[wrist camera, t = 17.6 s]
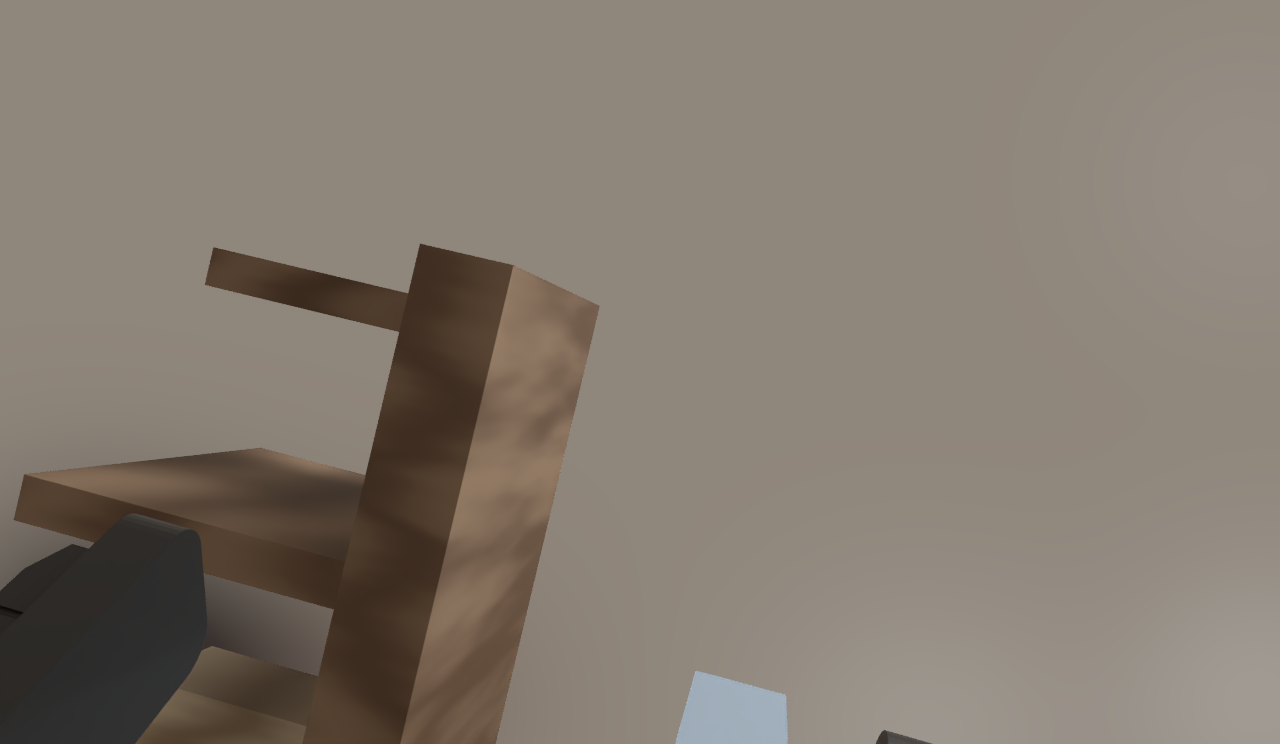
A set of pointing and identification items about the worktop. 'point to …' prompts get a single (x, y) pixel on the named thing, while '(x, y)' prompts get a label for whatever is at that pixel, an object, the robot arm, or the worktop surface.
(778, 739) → the blue-grey square bar
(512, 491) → the rack
